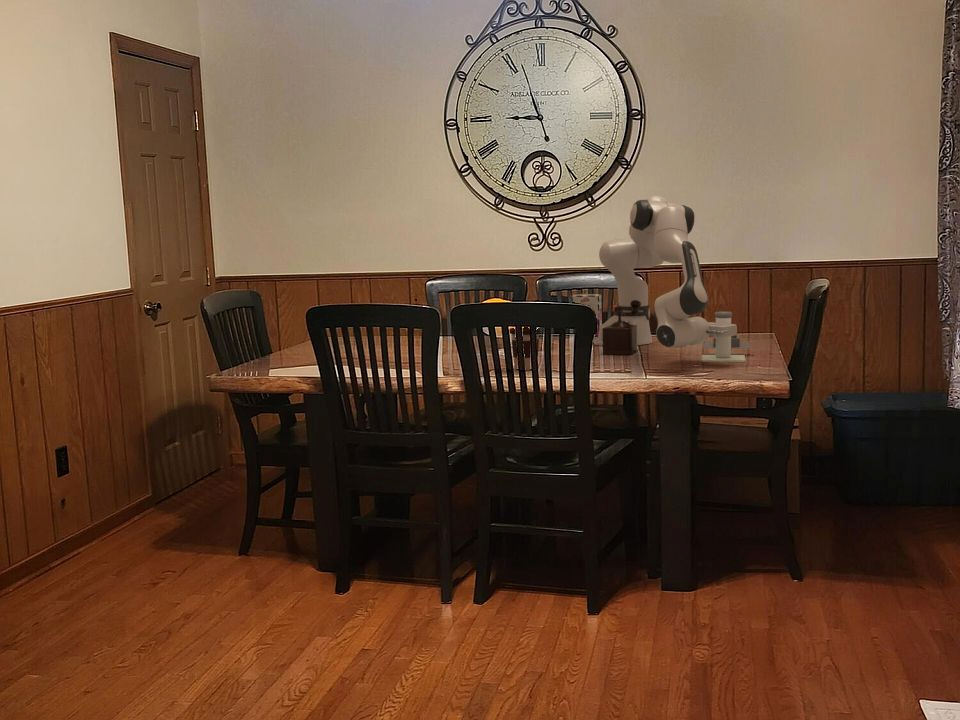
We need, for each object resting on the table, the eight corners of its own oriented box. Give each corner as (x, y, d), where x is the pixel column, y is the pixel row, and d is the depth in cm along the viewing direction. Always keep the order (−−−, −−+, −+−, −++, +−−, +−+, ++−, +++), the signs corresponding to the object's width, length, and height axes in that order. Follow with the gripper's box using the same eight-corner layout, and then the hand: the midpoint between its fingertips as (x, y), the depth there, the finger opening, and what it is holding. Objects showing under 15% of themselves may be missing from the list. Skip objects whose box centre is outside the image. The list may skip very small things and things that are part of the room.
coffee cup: (509, 367, 348) (508, 322, 345) (539, 365, 348) (538, 321, 346) (512, 372, 338) (511, 325, 336) (542, 370, 339) (541, 324, 336)
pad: (701, 362, 346) (701, 360, 346) (702, 355, 359) (702, 353, 359) (745, 362, 343) (745, 360, 343) (744, 355, 356) (744, 353, 356)
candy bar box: (602, 334, 418) (602, 294, 416) (599, 336, 414) (599, 295, 411) (575, 334, 422) (574, 293, 419) (572, 336, 417) (571, 295, 415)
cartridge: (713, 357, 350) (713, 313, 348) (717, 355, 355) (717, 311, 352) (729, 358, 347) (729, 313, 345) (733, 356, 352) (733, 311, 350)
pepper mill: (632, 355, 364) (632, 304, 361) (602, 354, 368) (601, 303, 365) (642, 349, 378) (642, 299, 376) (613, 348, 383) (612, 299, 380)
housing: (703, 351, 369) (703, 339, 368) (704, 344, 384) (704, 333, 384) (750, 351, 365) (750, 339, 365) (749, 344, 381) (749, 333, 380)
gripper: (722, 322, 331) (747, 318, 340) (670, 319, 346) (695, 314, 355) (722, 342, 332) (747, 337, 341) (670, 337, 347) (695, 333, 356)
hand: (720, 326), depth 348 cm, fingers open, 8 cm apart
